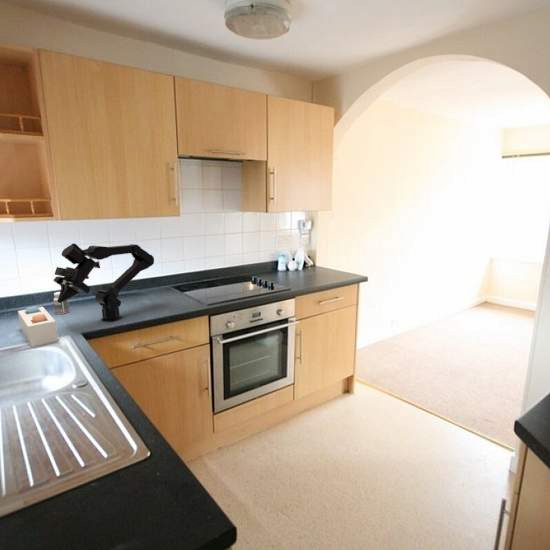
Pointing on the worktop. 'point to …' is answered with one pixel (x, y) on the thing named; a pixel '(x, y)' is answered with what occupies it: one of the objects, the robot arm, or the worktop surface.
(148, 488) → the worktop surface
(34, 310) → the slate button
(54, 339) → the white slotted box
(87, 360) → the worktop surface
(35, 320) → the terracotta button
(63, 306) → the pill bottle
